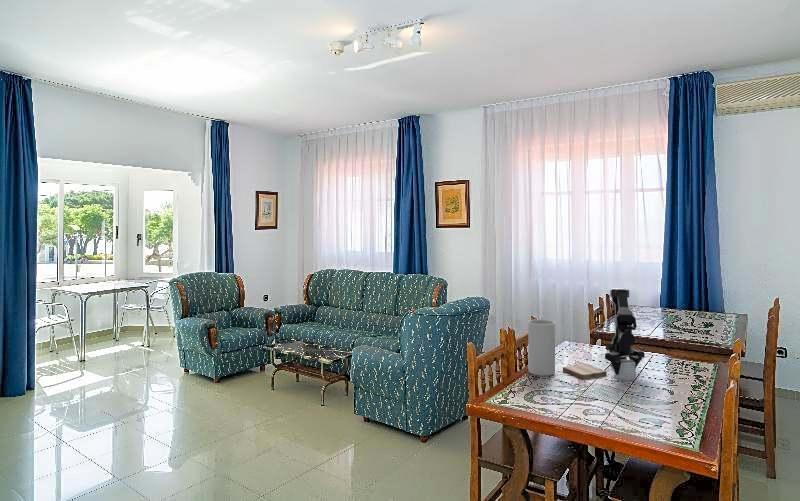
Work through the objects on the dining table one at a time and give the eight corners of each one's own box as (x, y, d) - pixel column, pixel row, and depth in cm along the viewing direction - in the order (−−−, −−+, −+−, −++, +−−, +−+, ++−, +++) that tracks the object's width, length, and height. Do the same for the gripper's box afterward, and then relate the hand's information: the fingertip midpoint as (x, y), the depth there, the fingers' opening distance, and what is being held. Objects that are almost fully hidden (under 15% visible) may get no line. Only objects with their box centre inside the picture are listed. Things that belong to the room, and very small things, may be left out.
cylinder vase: (552, 369, 241) (552, 319, 240) (557, 376, 229) (557, 324, 227) (526, 368, 242) (526, 319, 241) (530, 376, 230) (530, 324, 229)
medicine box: (631, 377, 226) (631, 359, 226) (635, 380, 222) (635, 362, 221) (614, 377, 227) (614, 359, 226) (617, 380, 222) (617, 361, 222)
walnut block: (585, 367, 242) (585, 363, 242) (606, 375, 229) (606, 371, 229) (562, 371, 237) (562, 367, 237) (582, 379, 224) (582, 375, 224)
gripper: (626, 334, 234) (626, 366, 235) (596, 338, 228) (596, 371, 228) (645, 339, 224) (645, 372, 225) (614, 343, 217) (614, 377, 218)
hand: (624, 373), depth 224 cm, fingers open, 9 cm apart
